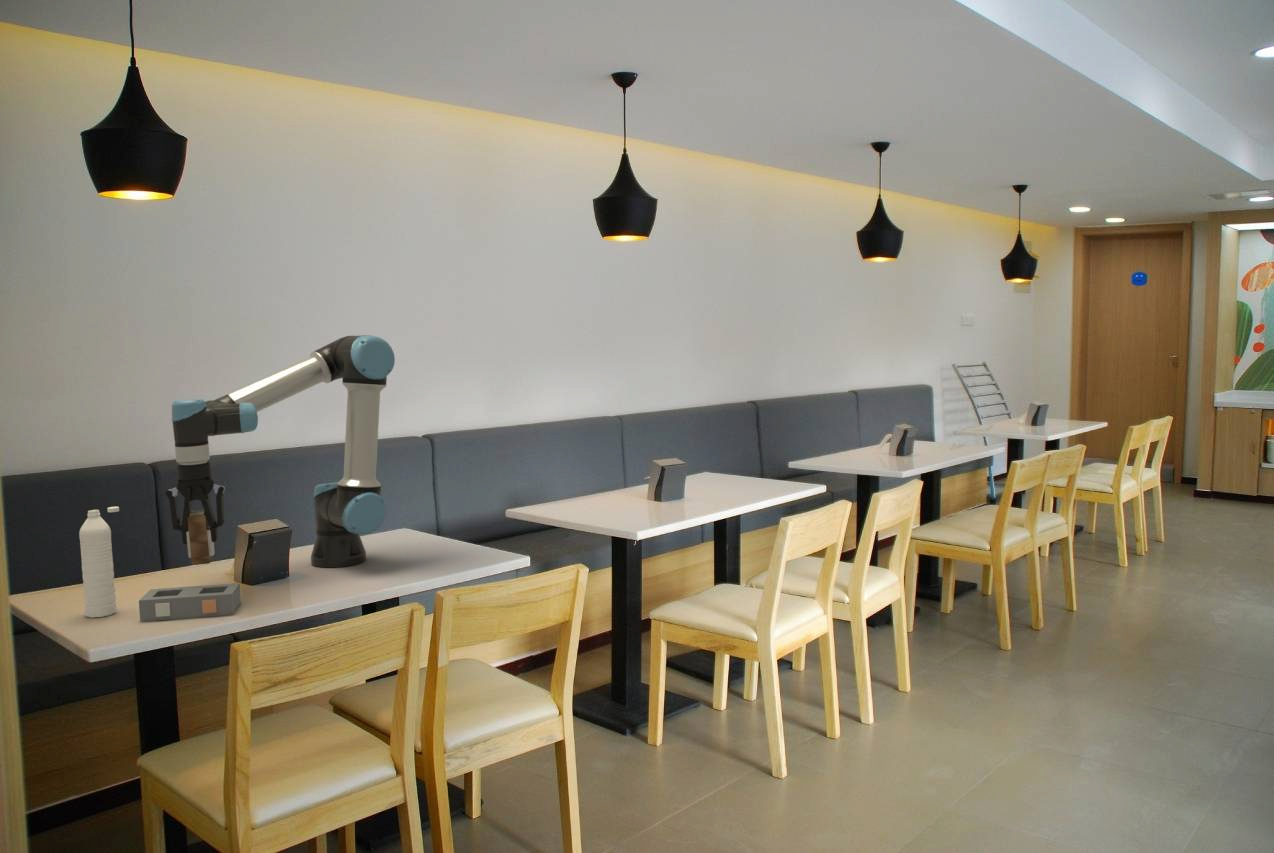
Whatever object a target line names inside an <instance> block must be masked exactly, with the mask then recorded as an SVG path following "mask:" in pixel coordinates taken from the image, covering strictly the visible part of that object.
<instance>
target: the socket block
mask: <svg viewBox="0 0 1274 853" xmlns="http://www.w3.org/2000/svg"><path fill="white" fill-rule="evenodd" d="M241 599H242V598H241V584H240V582H239V583H237V582H235V583H224V584H222V583H221V584H208V585H195V586H178V587H166V588H151V589H149V590H148V591H147V592H146V593H145V594H144V595H143V596H142V597H141V598H139V600H138V611H139V622H141V623H143V622H155V621H167V620H169V621H170V620H181V619H182V620H183V619H184V620H185V619H195V618H197V619H198V618H207V617H208V618H209V617H221V616H222V617H224V616H233V615H234V614H235V612H236V611H237V609H238V608H239V606H240V605H241Z"/></svg>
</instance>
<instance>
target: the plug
mask: <svg viewBox="0 0 1274 853" xmlns="http://www.w3.org/2000/svg"><path fill="white" fill-rule="evenodd" d="M187 518H188V530H189V539H190V550H191V558H190V559H191V560H190V561H191V565H192V566H194V565H195V566H196V565H207V564H210V563H211V562H212V561H213V556H209V547H208V536H207V530H208V529H209V528H210V526H209V523H208V520H207V517H206V514H205V511H204V509H201V510H199V509H198V510H191V512H190V513H189V516H188V517H187Z"/></svg>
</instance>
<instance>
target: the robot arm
mask: <svg viewBox="0 0 1274 853" xmlns="http://www.w3.org/2000/svg"><path fill="white" fill-rule="evenodd" d="M395 361H396V359H395V353H394V350H393V348H392V346H391V345H390V344H389V343H388V342H387V341H386V340H385V339H384V338H382V337H380V336H375V335H370V334H366V335H365V334H363V335H347V336H343V337H340V338H338V339H335V340H333V341H332V342H330V343H327V344H325V345H323V346H322V347H320V348H318V349H316V350H313V351H311V352H310V354H309V357H307V358H305V359H303V360H300V361H298V362H296V363H294V364H291V365H290V366H287V367H285V368H283V369H280V370H278V371H275V372H273V373H271V374H270V375H267V376H264V377H262V378H261V379H259V380H255V381H254V382H251V383H249V384H247V385H245V386H242V387H240V388H238V389H236V390H234V391H231V392H229V393H227V394H225V395H223V396H219V397H218V398H216V399H214V400H211V399H210V400H206V401H205V399H203V398H185V399H184V398H183V399H178V400H177V399H176V400H174V401H173V402H172V404H171V422H172V429H173V430H172V431H173V439H174V451H175V462H176V463H178V464H177V465H176V472H177V484H176V487H173V488H169V489H168V490H166V491H165V495H166V497H167V499H168V500H169V501H168V502H169V508H170V516H171V517H170V518H171V523H172V529H173V530H174V531H176V530H177V531H180V532H181V539H182V544H183V545H187V555H188V559H191V550H190V539H189V529H188V518H187V517H188V516H189V513H190V512H191V511H192V505H193V502H194V501H195V500H197V501H200V503H201V505H202V508H203V510H204V511H205V514H206V517H207V520H208V523H209V526H210V528H209V529H208V530H207V536H208V547H209V556H212V557H213V556H214V555H215V554H216V553H215V542H217V541H218V540H219V536H218V528H220V527H222V526H223V525H224V524H225V503H224V493H225V490H226V488H227V487H226V486H225V484H224V485H223V484H222V485H219V484H215V481H213V479H212V469H211V467H212V466H211V462H209V460H210V459H211V456H210V447H209V445H210V444H209V437H214V436H221V435H223V436H224V435H233V434H245V433H251V432H254V431H255V430H256V429H257V427H258V424H259V423H258V422H259V416H258V412H260V411H263V410H265V409H267V408H269V407H271V406H273V405H276V404H278V403H279V402H281V401H284V400H286V399H288V398H290V397H293V396H295V395H297V394H299V393H302V392H303V391H305V390H308V389H310V388H312V387H314V386H315V385H318V384H320V383H325V384H329V383H332V382H333V381H336V380H339V379H342V385H343V386H344V387H345V388H346V390H347V399H346V420H345V421H346V422H345V442H344V458H343V459H344V460H343V477H342V478H341V479H340V480H338V481H336V482H329V483H328V482H327V483H320V484H317V485H315V487H314V492H313V500H314V517H315V518H314V520H315V532H316V533H315V535H316V536H315V540H314V544H313V549H312V552H311V555H310V564H311V565H312V566H314V567H319V568H342V567H349V566H355V565H358V564H360V563H363V562H365V561H366V560H367V551H366V548H365V546H364V543H363V540H362V538H361V536H360V535H370V534H372V533H374V532H375V531H377V530H378V529H379V528H380V527H381V526H382V525H383V523H384V522H385V521H386V520H385V519H386V517H387V513H388V508H387V503H386V501H385V500H384V498H383V497H382V496H381V494H382V493H381V492H382V485H381V483H380V481H379V480H378V479H377V462H378V460H377V458H378V440H379V423H380V422H379V421H380V419H379V418H380V406H381V405H380V403H381V401H380V400H381V392H382V391H383V390H384V389H385V388H386V387H387V381H388V380H387V379H388V378H387V377H388V376H389V374H391V372H392V371H393V369H394V366H395V364H396V362H395ZM212 490H214V494H215V495H216V496H215V498H216V499H215V500H216V503H215V504H216V517H215V514H214V510H213V507H212V504H211V501H210V500H211V499H210V496H209V494H210V493H211V492H212ZM178 492H179V493H180V494H181V495H182V497H183V498H184V499H183V500H184V502H183V504H184V505H183V511H182V520H181V517H180V512H179V511H180V510H179V503H178V498H177V496H179V493H178Z"/></svg>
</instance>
